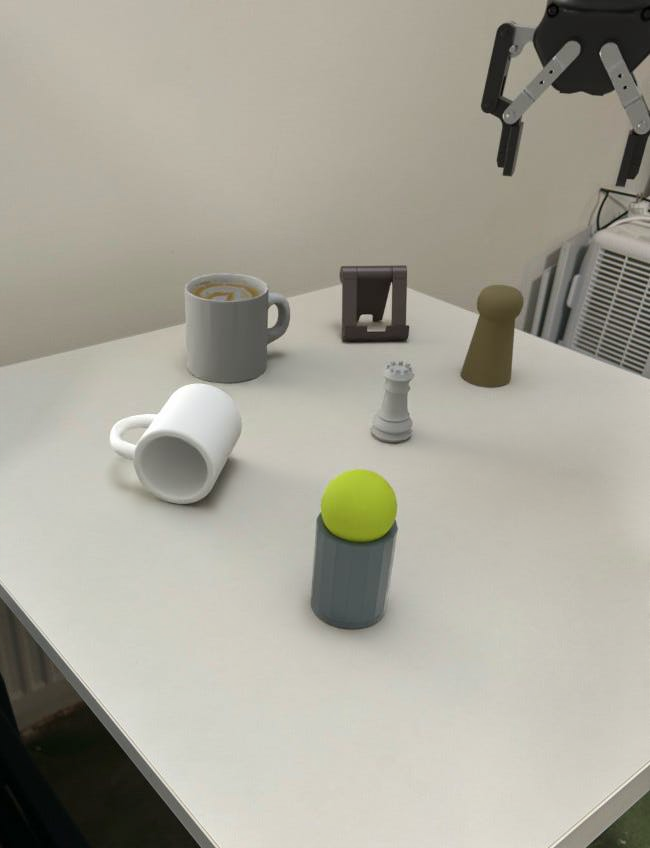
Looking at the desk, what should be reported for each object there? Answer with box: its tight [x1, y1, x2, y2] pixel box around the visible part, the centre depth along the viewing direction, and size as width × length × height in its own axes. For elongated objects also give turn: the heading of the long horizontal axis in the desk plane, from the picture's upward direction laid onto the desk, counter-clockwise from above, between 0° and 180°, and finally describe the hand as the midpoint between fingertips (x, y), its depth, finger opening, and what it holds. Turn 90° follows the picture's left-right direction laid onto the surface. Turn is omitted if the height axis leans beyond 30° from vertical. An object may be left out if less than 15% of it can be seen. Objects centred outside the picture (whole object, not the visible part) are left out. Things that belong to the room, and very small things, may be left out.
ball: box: [320, 468, 398, 542], centre depth 61 cm, size 6×6×6 cm
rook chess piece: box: [370, 360, 415, 444], centre depth 87 cm, size 4×4×8 cm
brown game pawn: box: [460, 284, 524, 388], centre depth 98 cm, size 6×6×11 cm
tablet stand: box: [339, 265, 410, 342], centre depth 110 cm, size 9×8×8 cm
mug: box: [109, 382, 243, 505], centre depth 80 cm, size 12×10×8 cm
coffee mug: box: [184, 272, 291, 384], centre depth 101 cm, size 13×10×10 cm
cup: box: [310, 511, 399, 630], centre depth 64 cm, size 6×6×8 cm
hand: (562, 179), depth 65 cm, fingers open, 8 cm apart
